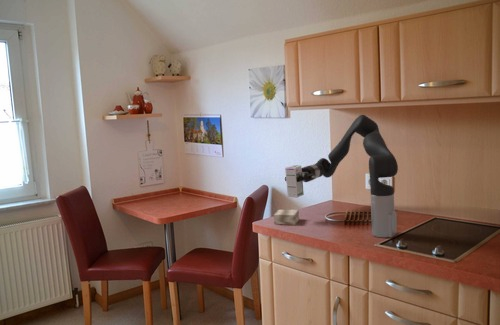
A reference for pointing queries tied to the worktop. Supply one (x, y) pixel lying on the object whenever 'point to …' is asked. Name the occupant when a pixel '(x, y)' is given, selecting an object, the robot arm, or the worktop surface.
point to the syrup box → (294, 181)
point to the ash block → (286, 217)
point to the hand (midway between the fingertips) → (291, 179)
